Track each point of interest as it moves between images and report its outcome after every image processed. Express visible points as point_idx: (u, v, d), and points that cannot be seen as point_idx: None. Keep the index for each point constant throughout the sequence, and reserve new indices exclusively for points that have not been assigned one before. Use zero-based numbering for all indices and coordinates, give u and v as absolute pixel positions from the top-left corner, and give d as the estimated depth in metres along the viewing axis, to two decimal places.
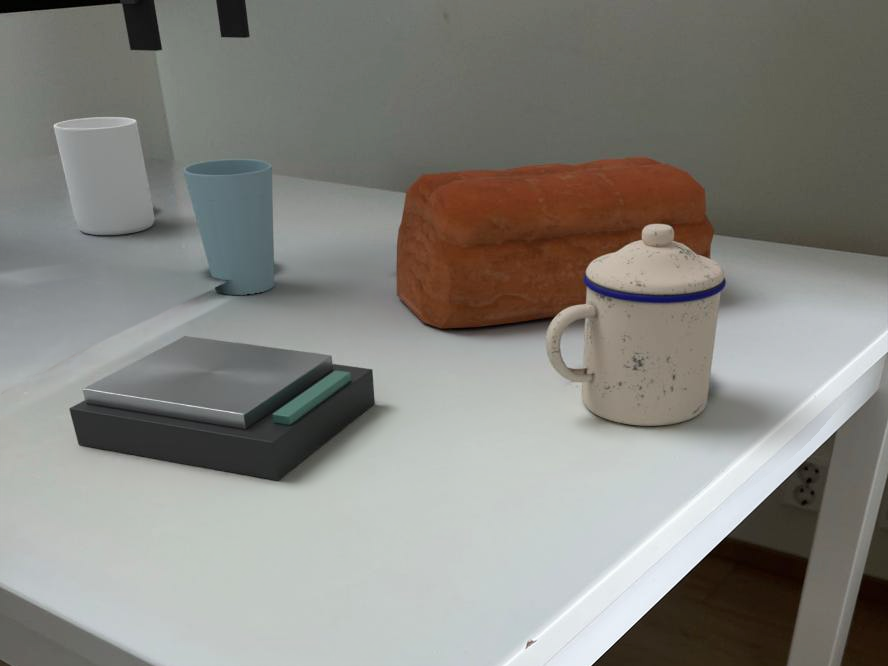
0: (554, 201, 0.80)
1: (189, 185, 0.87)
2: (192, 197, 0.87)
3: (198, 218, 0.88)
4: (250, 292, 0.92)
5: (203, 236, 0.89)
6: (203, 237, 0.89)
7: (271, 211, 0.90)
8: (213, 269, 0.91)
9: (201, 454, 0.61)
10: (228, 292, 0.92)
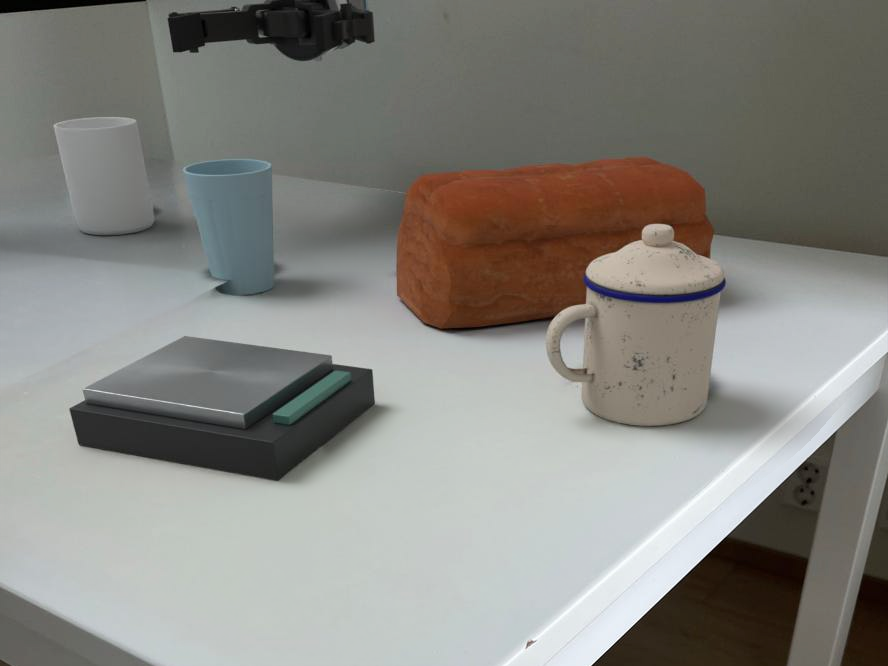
0: (554, 201, 0.80)
1: (188, 185, 0.87)
2: (192, 197, 0.87)
3: (198, 218, 0.88)
4: (250, 292, 0.92)
5: (203, 236, 0.89)
6: (203, 237, 0.89)
7: (271, 211, 0.90)
8: (213, 269, 0.91)
9: (201, 454, 0.61)
10: (228, 292, 0.92)
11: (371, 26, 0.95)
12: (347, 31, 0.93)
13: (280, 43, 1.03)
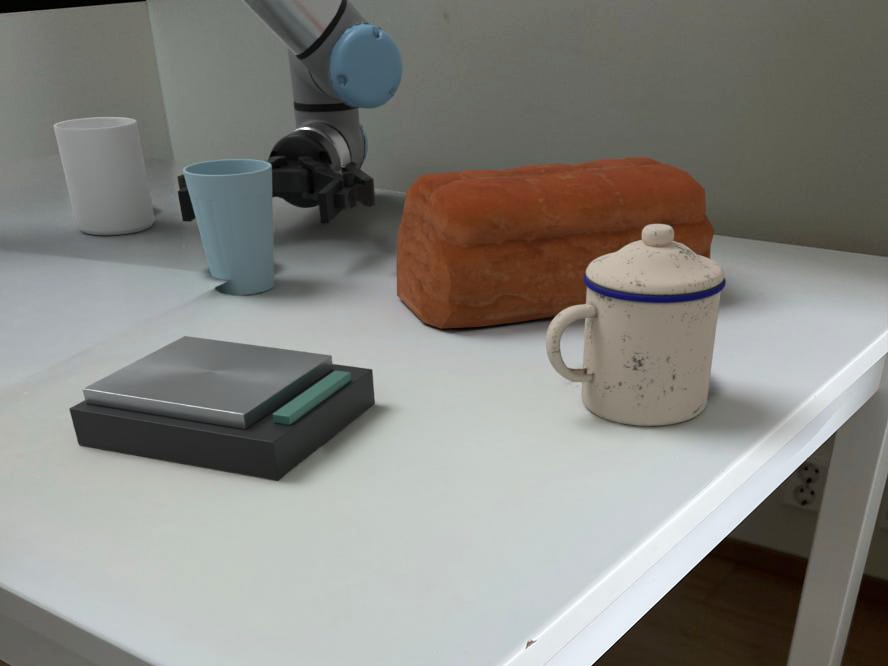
0: (554, 201, 0.80)
1: (188, 185, 0.87)
2: (192, 197, 0.87)
3: (198, 218, 0.88)
4: (250, 292, 0.92)
5: (203, 236, 0.89)
6: (203, 237, 0.89)
7: (271, 211, 0.90)
8: (213, 269, 0.91)
9: (201, 454, 0.61)
10: (228, 292, 0.92)
11: (372, 191, 1.00)
12: (349, 200, 0.98)
13: (284, 196, 1.07)
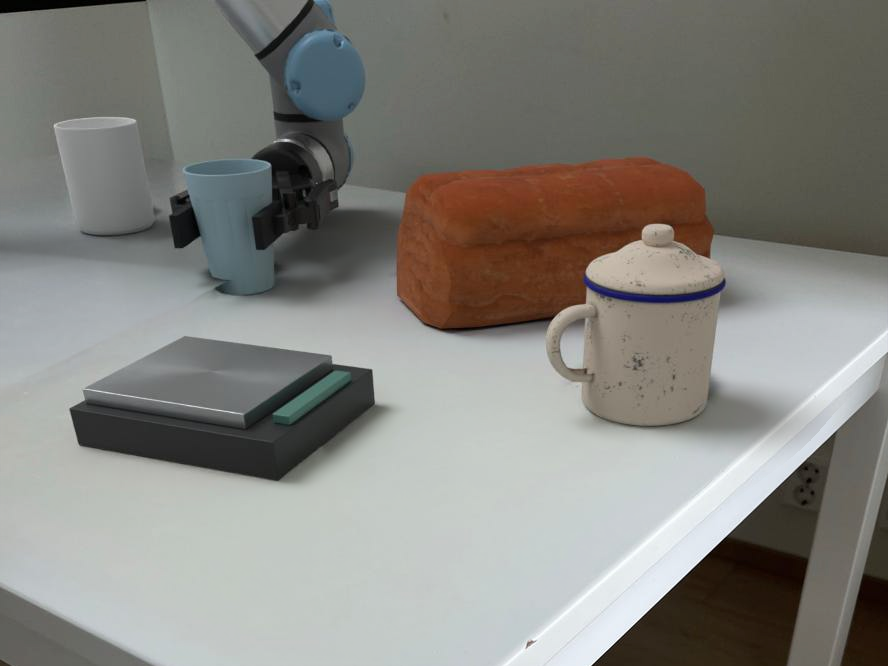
0: (554, 201, 0.80)
1: (188, 185, 0.87)
2: (192, 197, 0.87)
3: (198, 218, 0.88)
4: (250, 292, 0.92)
5: (203, 236, 0.89)
6: (203, 237, 0.89)
7: None
8: (213, 269, 0.91)
9: (201, 454, 0.61)
10: (228, 292, 0.92)
11: (314, 214, 0.92)
12: (289, 223, 0.89)
13: None
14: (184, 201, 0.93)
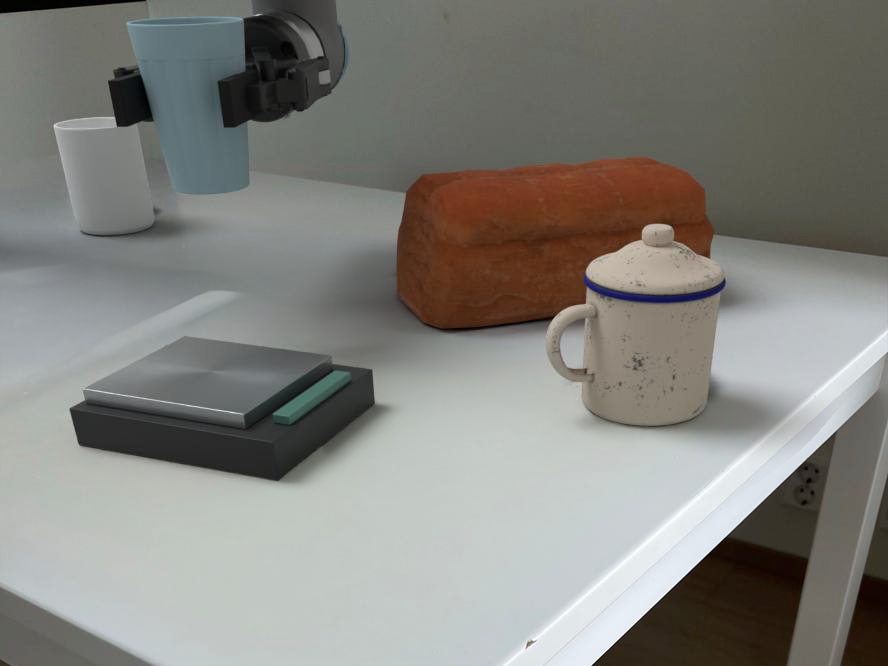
0: (554, 201, 0.80)
1: (134, 42, 0.66)
2: (139, 60, 0.67)
3: (148, 89, 0.68)
4: (218, 190, 0.71)
5: (155, 114, 0.68)
6: (155, 116, 0.69)
7: None
8: (169, 160, 0.70)
9: (201, 454, 0.61)
10: (189, 191, 0.71)
11: (300, 89, 0.71)
12: (268, 98, 0.69)
13: None
14: None
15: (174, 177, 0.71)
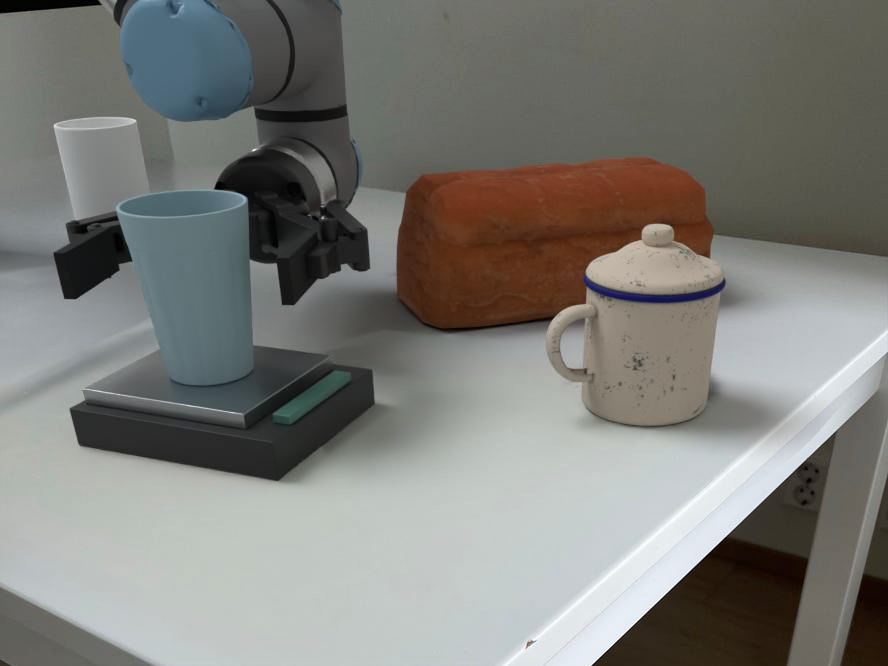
0: (554, 201, 0.80)
1: (124, 230, 0.59)
2: (130, 248, 0.59)
3: (140, 278, 0.60)
4: (218, 381, 0.63)
5: (148, 303, 0.61)
6: (148, 304, 0.61)
7: (247, 266, 0.62)
8: (164, 349, 0.63)
9: (201, 454, 0.61)
10: (186, 381, 0.63)
11: (365, 249, 0.64)
12: (329, 264, 0.62)
13: None
14: (87, 228, 0.66)
15: (169, 366, 0.63)
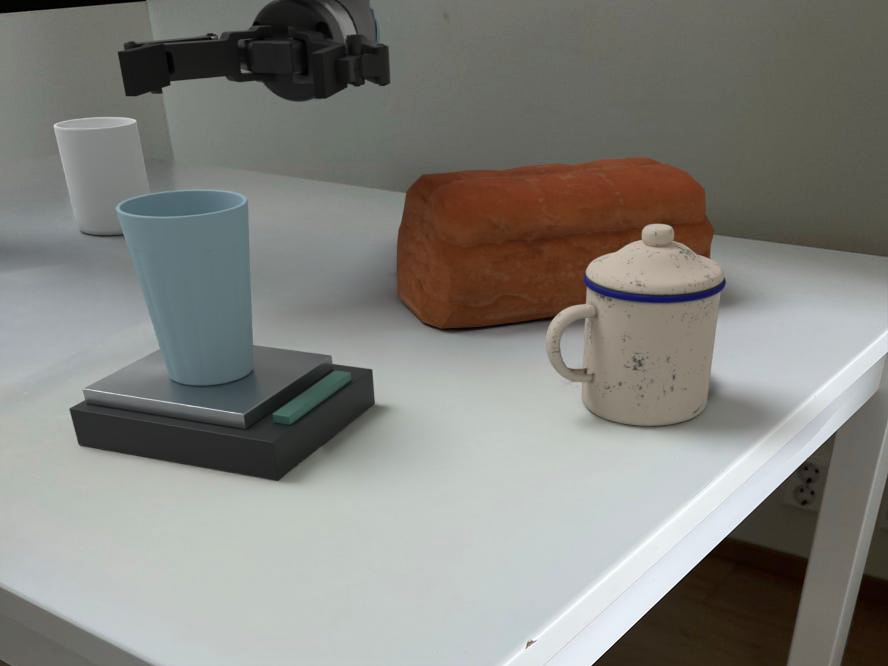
0: (554, 201, 0.80)
1: (124, 230, 0.59)
2: (130, 248, 0.59)
3: (140, 278, 0.60)
4: (218, 381, 0.63)
5: (148, 303, 0.61)
6: (148, 304, 0.61)
7: (247, 266, 0.62)
8: (164, 349, 0.63)
9: (201, 454, 0.61)
10: (186, 381, 0.63)
11: (386, 64, 0.73)
12: (355, 71, 0.71)
13: (269, 80, 0.81)
14: None
15: (169, 366, 0.63)
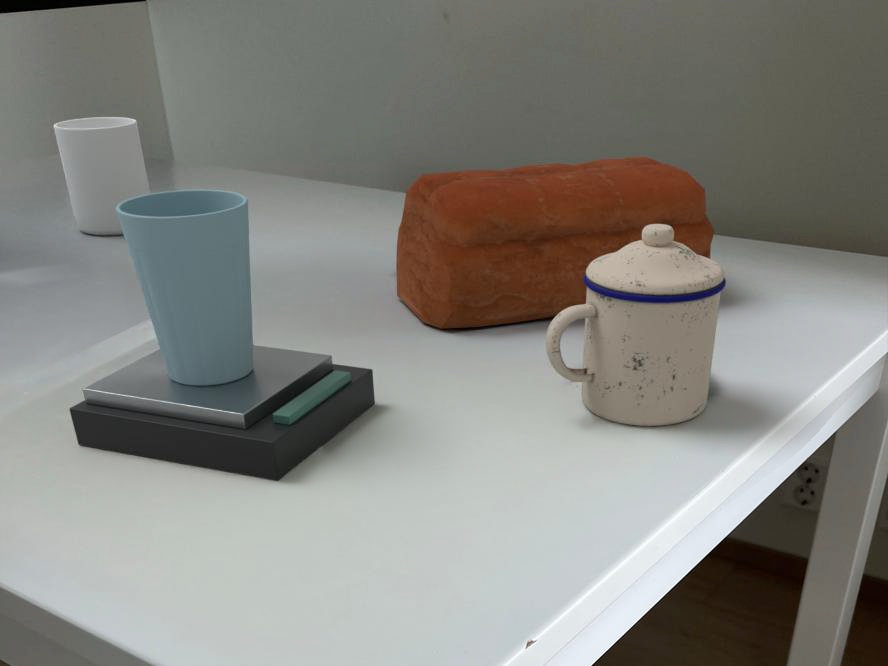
0: (554, 201, 0.80)
1: (124, 230, 0.59)
2: (130, 248, 0.59)
3: (140, 278, 0.60)
4: (218, 381, 0.63)
5: (148, 303, 0.61)
6: (148, 304, 0.61)
7: (247, 266, 0.62)
8: (164, 349, 0.63)
9: (201, 454, 0.61)
10: (186, 381, 0.63)
11: None
12: None
13: None
14: None
15: (169, 366, 0.63)
